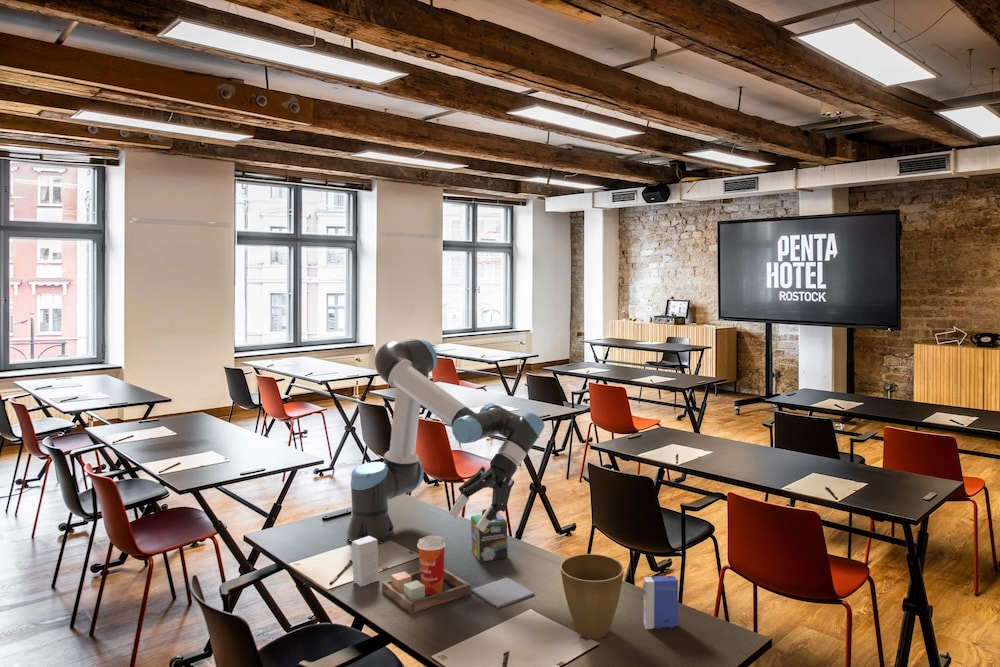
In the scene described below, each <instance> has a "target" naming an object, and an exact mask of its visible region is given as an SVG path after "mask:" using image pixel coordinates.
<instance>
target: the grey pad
mask: <svg viewBox="0 0 1000 667" xmlns="http://www.w3.org/2000/svg"><path fill="white" fill-rule="evenodd" d="M470 592H472V593H473V594H475V595H476V596H478V597H479V598H481V599H483V601H486V602H487V601H488V602H487V603H488V604H490V603H491V604H490V605H492V606H493V605H494V606H493V607H495V606H496V607H495V608H497V609H500V608H502V607H501V606H503V607H505V606H508V605H510V603H511V604H514V603H517V602H519V601H522V600H524V598H525V599H528V598H530V597H532V595H533V596H534V595H535V592H533V591H531V590H530V589H529V588H527V587H525V586H523V585H521V584H520V583H518V582H516V581H514V580H512V579H510V578H509V577H504V578H502V579H499V580H495V581H492V582H488V583H486V584H483V585H480V586H477V587H475V588H470ZM521 599H522V600H521ZM513 602H514V603H513ZM507 604H508V605H507ZM504 605H505V606H504ZM499 607H500V608H499Z"/></svg>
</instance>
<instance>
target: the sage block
mask: <svg viewBox="0 0 1000 667" xmlns="http://www.w3.org/2000/svg"><path fill="white" fill-rule="evenodd" d="M404 596H406V597H407V598H408V599H410V600H411V601H412V602H413V601H416V600H419V599H422V598H425V597H426V594H425V585H423V584H422V583H421V581H418V580H416V581H413V582H409V583H406V584H404Z"/></svg>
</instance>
